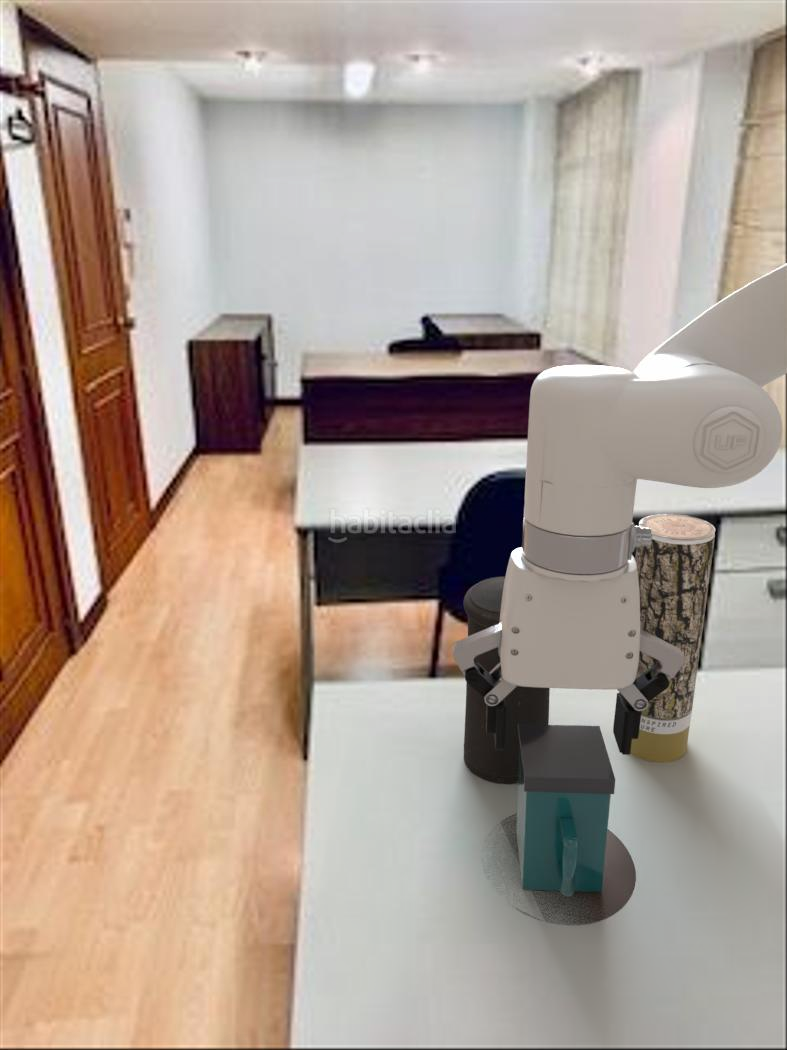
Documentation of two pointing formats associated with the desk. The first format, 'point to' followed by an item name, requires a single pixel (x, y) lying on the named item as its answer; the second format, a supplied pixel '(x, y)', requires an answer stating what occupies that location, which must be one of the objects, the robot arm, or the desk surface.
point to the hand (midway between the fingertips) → (559, 741)
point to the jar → (563, 807)
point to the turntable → (625, 865)
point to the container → (520, 703)
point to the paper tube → (672, 624)
